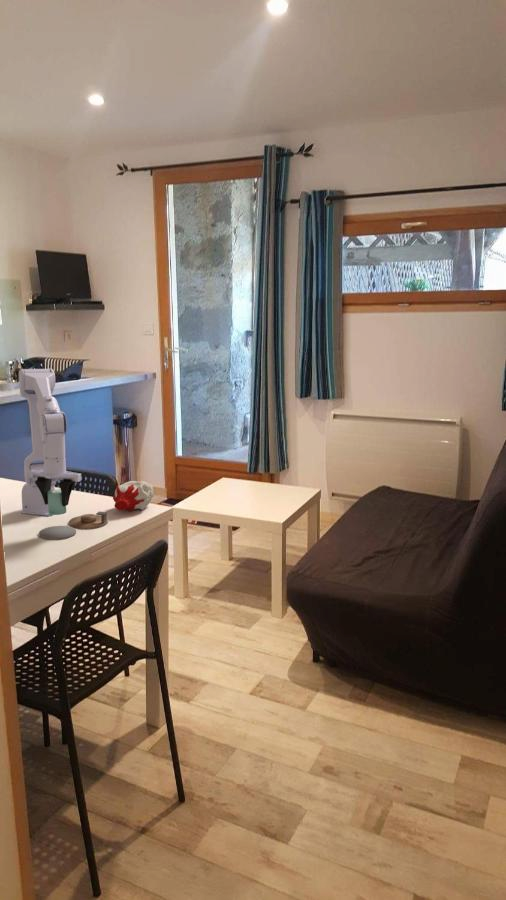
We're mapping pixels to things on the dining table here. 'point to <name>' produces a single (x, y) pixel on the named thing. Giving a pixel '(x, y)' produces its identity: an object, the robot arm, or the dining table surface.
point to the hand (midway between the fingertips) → (56, 504)
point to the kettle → (55, 503)
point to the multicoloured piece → (133, 495)
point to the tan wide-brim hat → (89, 521)
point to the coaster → (57, 532)
